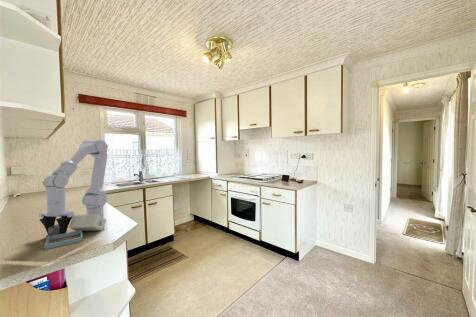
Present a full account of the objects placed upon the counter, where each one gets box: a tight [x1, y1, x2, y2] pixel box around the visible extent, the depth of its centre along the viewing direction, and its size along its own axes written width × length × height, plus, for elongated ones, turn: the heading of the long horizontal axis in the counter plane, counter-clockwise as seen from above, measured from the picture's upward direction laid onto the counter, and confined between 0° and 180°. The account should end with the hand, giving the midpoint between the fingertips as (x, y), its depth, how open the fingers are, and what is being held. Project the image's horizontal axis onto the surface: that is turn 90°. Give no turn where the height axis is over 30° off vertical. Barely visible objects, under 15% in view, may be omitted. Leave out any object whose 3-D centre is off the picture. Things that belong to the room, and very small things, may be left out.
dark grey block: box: [45, 224, 60, 239], centre depth 84 cm, size 5×7×4 cm
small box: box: [68, 214, 107, 232], centre depth 89 cm, size 8×6×10 cm
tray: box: [43, 230, 84, 250], centre depth 79 cm, size 11×11×2 cm
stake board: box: [44, 222, 76, 241], centre depth 87 cm, size 9×10×6 cm
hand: (57, 233), depth 85 cm, fingers open, 6 cm apart
